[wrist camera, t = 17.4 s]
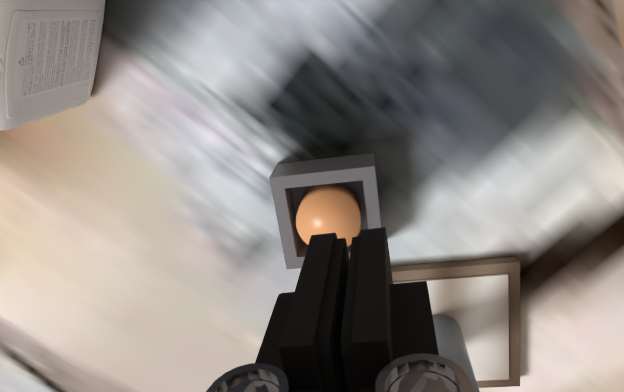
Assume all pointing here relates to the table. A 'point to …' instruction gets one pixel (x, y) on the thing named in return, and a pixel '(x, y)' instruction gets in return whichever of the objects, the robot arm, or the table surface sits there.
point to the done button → (329, 212)
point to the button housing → (304, 174)
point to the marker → (453, 344)
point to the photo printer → (46, 57)
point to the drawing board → (478, 310)
